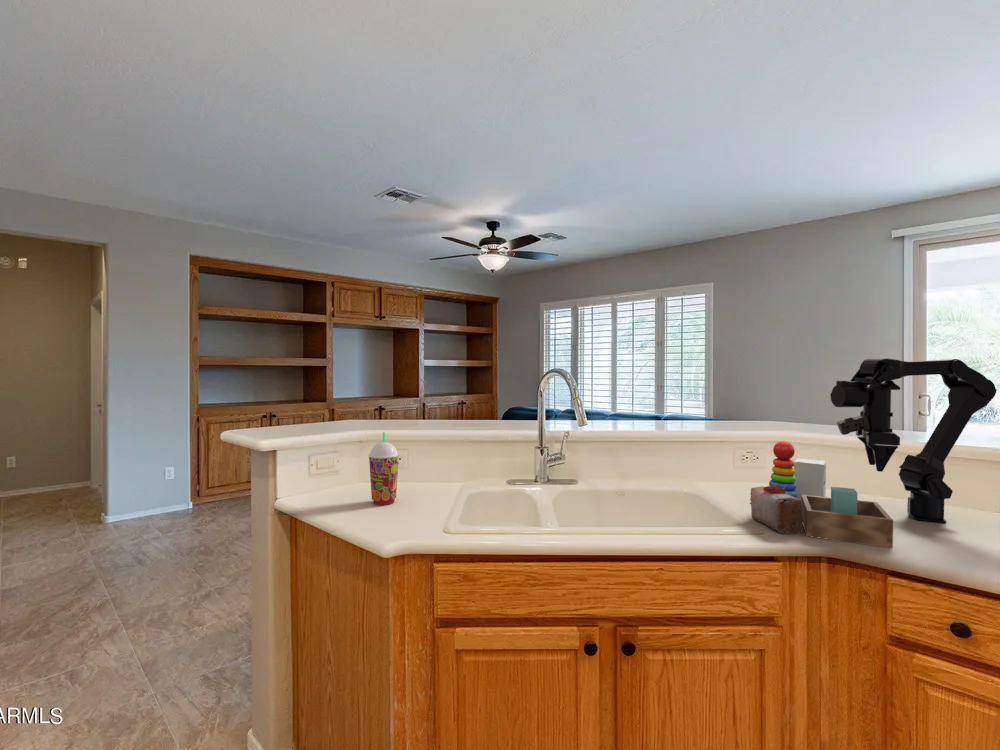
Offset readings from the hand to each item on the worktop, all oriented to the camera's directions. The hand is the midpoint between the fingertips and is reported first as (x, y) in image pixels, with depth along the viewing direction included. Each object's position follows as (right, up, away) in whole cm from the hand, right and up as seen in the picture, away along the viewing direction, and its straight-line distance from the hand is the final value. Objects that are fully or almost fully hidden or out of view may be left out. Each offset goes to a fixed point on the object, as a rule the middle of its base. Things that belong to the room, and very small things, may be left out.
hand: (875, 468), depth 132 cm
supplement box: (-10, -13, +12) cm, 20 cm away
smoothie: (-129, -13, +14) cm, 131 cm away
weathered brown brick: (-28, -13, -5) cm, 32 cm away
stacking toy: (-20, -13, +8) cm, 25 cm away
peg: (-15, -13, -10) cm, 23 cm away
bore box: (-15, -13, -10) cm, 22 cm away
